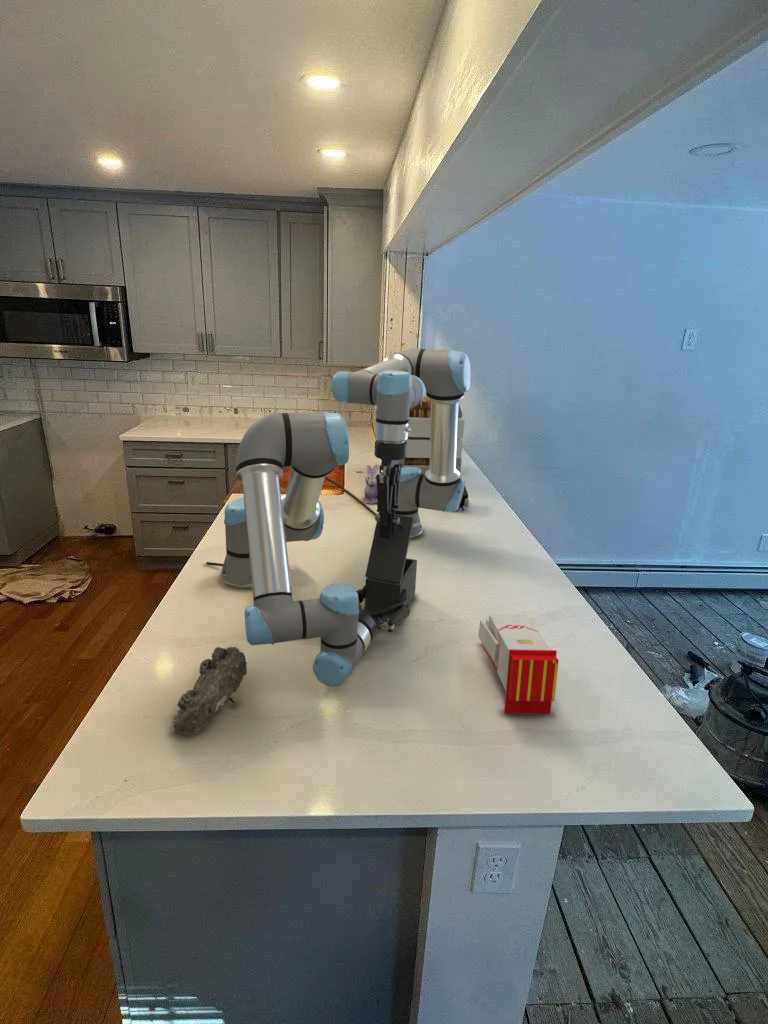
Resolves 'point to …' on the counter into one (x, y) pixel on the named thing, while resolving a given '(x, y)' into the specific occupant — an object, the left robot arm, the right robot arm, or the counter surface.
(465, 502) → the figurine character
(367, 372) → the right robot arm
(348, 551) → the counter surface
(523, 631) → the toy
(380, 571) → the lid
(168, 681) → the counter surface
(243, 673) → the fossil
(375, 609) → the chest
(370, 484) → the figurine
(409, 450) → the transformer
